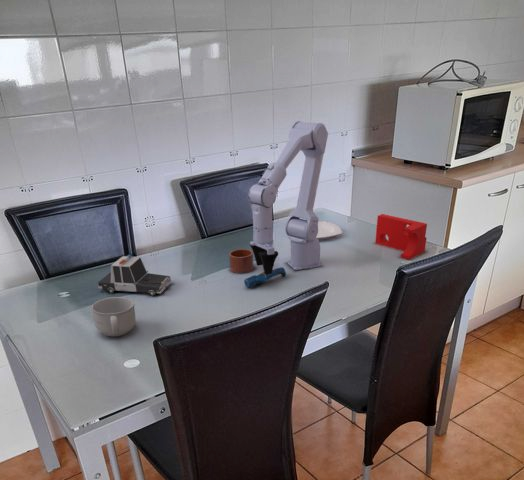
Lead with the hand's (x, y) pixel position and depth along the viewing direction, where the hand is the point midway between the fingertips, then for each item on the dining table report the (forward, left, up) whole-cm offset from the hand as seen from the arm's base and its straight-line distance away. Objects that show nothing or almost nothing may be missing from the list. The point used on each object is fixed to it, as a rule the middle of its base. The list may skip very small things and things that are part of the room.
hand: (264, 269), depth 156 cm
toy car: (+39, -12, -5) cm, 41 cm away
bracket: (-52, -9, -5) cm, 53 cm away
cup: (+3, -14, -4) cm, 15 cm away
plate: (-33, -36, -3) cm, 49 cm away
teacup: (+47, +16, -5) cm, 50 cm away
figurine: (0, 0, -5) cm, 5 cm away
